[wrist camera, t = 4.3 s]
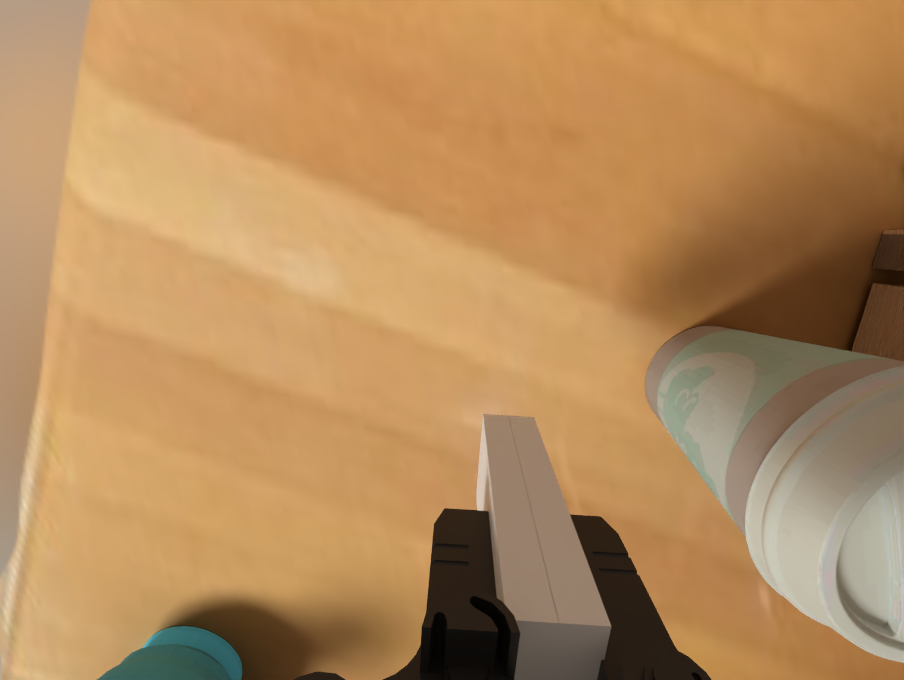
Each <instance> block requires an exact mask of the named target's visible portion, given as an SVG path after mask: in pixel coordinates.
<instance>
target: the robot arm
mask: <svg viewBox="0 0 904 680" xmlns="http://www.w3.org/2000/svg"><path fill="white" fill-rule="evenodd" d="M476 496H477V510H462V509H446V508H445V509H444V510H443V512H442V513H441V515H440V516H439V518H438V519H437V521H436V522H435V523H434V532H433V543H432V554H431V566H430V577H429V588H428V599H427V610H426V616H425V619H424V622H423V625H422V636H421V646H420V648H419V650H418V652H417V654H416V655H415V656H414V658H413V659H412V660H411V661H410V662H409V664H408V665H407V666H405V667H404V668H403V669H401V670H400V671H399V672H397V673H396V674H395V675H392V676H390V677H388V678H386V679H383V680H711V679H710V677H709V676H708V674H707V673H706V672H705V671H704V670H703V669H702V668H701V667H699V666H698V665H697V664H696V663H695V662H694V661H693V660H692V659H690V658H689V657H688V656H686V655H684V654H683V653H681V652H679V651H678V650H677V649H676V647H675V646H674V644H673V642H672V640H671V638H670V636H669V634H668V632H667V630H666V628H665V626H664V624H663V622H662V620H661V618H660V616H659V614H658V612H657V610H656V608H655V606H654V604H653V602H652V600H651V598H650V596H649V594H648V592H647V590H646V588H645V586H644V584H643V582H642V580H641V578H640V576H639V575H637V570H636V568H635V566H634V564H633V562H632V560H631V558H629V557H628V552H627V550H626V548H625V546H624V544H623V542H622V540H621V539H620V537H619V535H618V533H617V532H616V531H615V530H614V529H613V528H612V527H611V526H610V525H609V524H608V523H607V522H606V521H605V520H604V519H603V518H602V517H599V516H583V515H570V513H569V511H568V508H567V505H566V503H565V500H564V497H563V495H562V492H561V489H560V487H559V484H558V481H557V478H556V476H555V473H554V470H553V468H552V465H551V462H550V460H549V457H548V454H547V451H546V449H545V446H544V443H543V441H542V438H541V435H540V433H539V430H538V427H537V425H536V422H535V419H534V417H521V416H505V415H489V414H483V421H482V433H481V445H480V456H479V468H478V480H477V492H476ZM294 680H345V679H343V678H342V677H340V676H339V675H337V674H335V673H325V672H314V673H311V674H307V675H304V676H300V677H297V678H296V679H294Z"/></svg>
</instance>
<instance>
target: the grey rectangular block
mask: <svg viewBox="0 0 904 680" xmlns="http://www.w3.org/2000/svg"><path fill="white" fill-rule="evenodd" d="M851 351H852V352H857V353H862V354H868V355H873V356H878V357H883V358H889V359H894V360H899V361H904V285H893V284H876V283H873V285H872V288H871V291H870V294H869V297H868V301H867V304H866V307H865V310H864V313H863V316H862V319H861V322H860V325H859V328H858V332H857V335H856V338H855V341H854V344H853V347H852V350H851Z"/></svg>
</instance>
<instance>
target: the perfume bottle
mask: <svg viewBox="0 0 904 680" xmlns="http://www.w3.org/2000/svg"><path fill="white" fill-rule="evenodd" d="M242 673H243V672H242V664H241V661H240V658H239V656H238V654H237V653H236V651H235V650H234V648H233V647H232V646H231V645H230V644H229V643H228V642H227V641H225V640H224V639H223V638H221V637H220V636H218V635H216V634H214V633H212V632H210V631H207V630H205V629H201V628H197V627H190V626H176V627H170V628H167V629H163V630H161V631H159V632H157V633H156V634H154V635H153V636H152V637H151V638H150V639H149V640H148V641H147V643H146V644H145V645H144V647H143V648H141V649H139V650H137V651H135V652H133V653H131V654H130V655H129V656H128V657H126V658H125V659H124V660H123V661H122V662H121V664H120V665H118V666H116V667H114V668H113V669H111V670H109V671H108V672H106V673H105V674H104V675H103V676H101V677H100V678H99V679H98V680H241V678H242Z"/></svg>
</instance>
